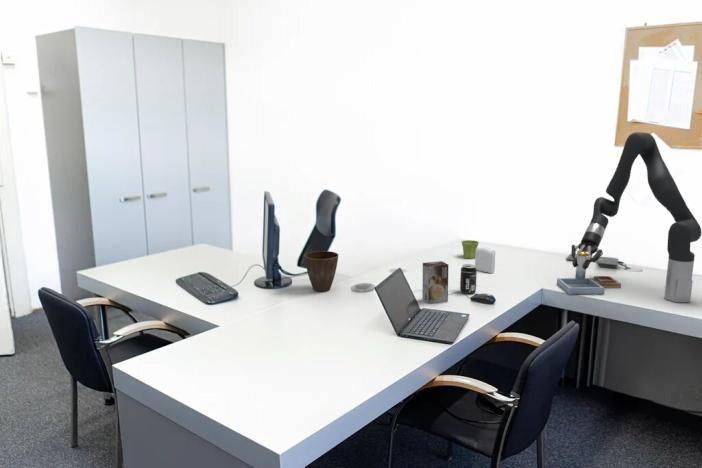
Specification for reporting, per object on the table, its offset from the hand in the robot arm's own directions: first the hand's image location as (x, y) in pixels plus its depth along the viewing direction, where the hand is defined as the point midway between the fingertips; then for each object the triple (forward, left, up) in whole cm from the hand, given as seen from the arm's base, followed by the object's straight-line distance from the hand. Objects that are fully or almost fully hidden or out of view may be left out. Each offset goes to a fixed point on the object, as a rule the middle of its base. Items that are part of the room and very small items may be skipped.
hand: (579, 267), depth 250 cm
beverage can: (-2, +49, -11) cm, 50 cm away
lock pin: (+1, -1, -6) cm, 6 cm away
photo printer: (+32, +34, -11) cm, 48 cm away
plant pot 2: (+59, +36, -11) cm, 70 cm away
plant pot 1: (+3, +113, -11) cm, 113 cm away
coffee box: (-13, +65, -11) cm, 67 cm away
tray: (+1, -1, -11) cm, 11 cm away
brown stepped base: (+8, -15, -11) cm, 20 cm away
